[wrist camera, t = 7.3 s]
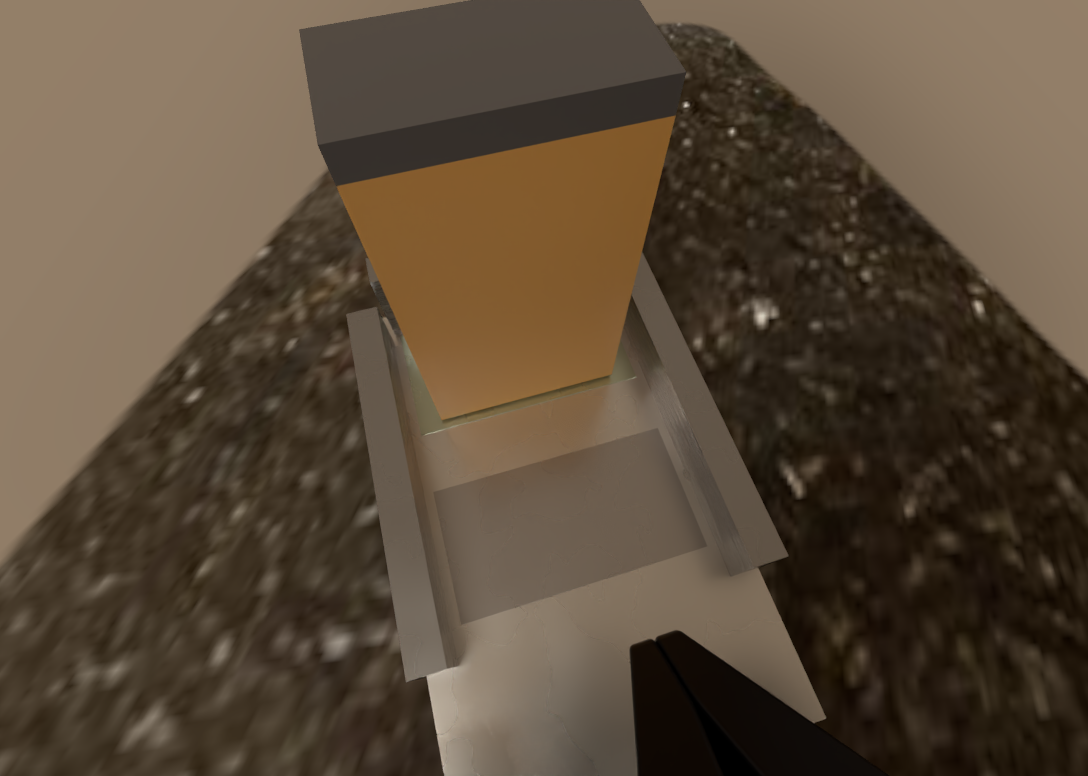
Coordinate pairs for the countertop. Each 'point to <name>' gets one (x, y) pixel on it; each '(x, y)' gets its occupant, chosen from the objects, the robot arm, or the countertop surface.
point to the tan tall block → (499, 179)
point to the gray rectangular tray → (566, 546)
